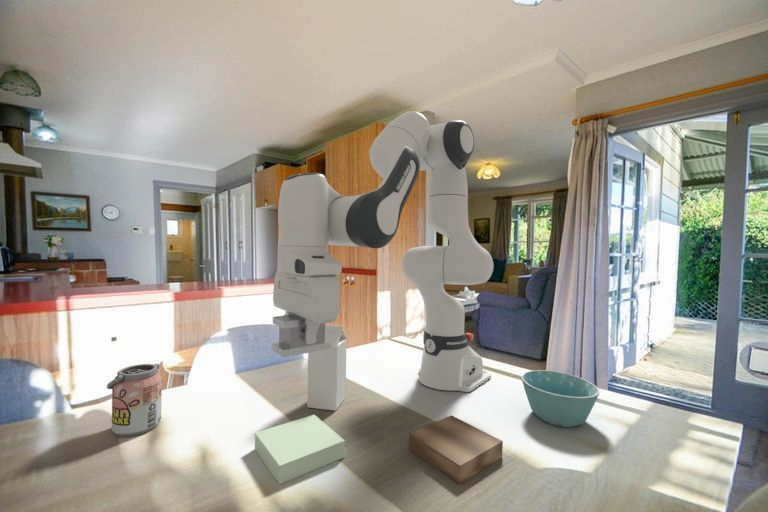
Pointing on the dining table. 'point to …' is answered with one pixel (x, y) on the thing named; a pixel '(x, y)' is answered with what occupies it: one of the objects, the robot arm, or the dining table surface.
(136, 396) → the beverage can
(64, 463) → the dining table surface
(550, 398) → the bowl
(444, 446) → the stand
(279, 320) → the block
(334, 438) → the stand
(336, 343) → the milk carton
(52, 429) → the dining table surface
